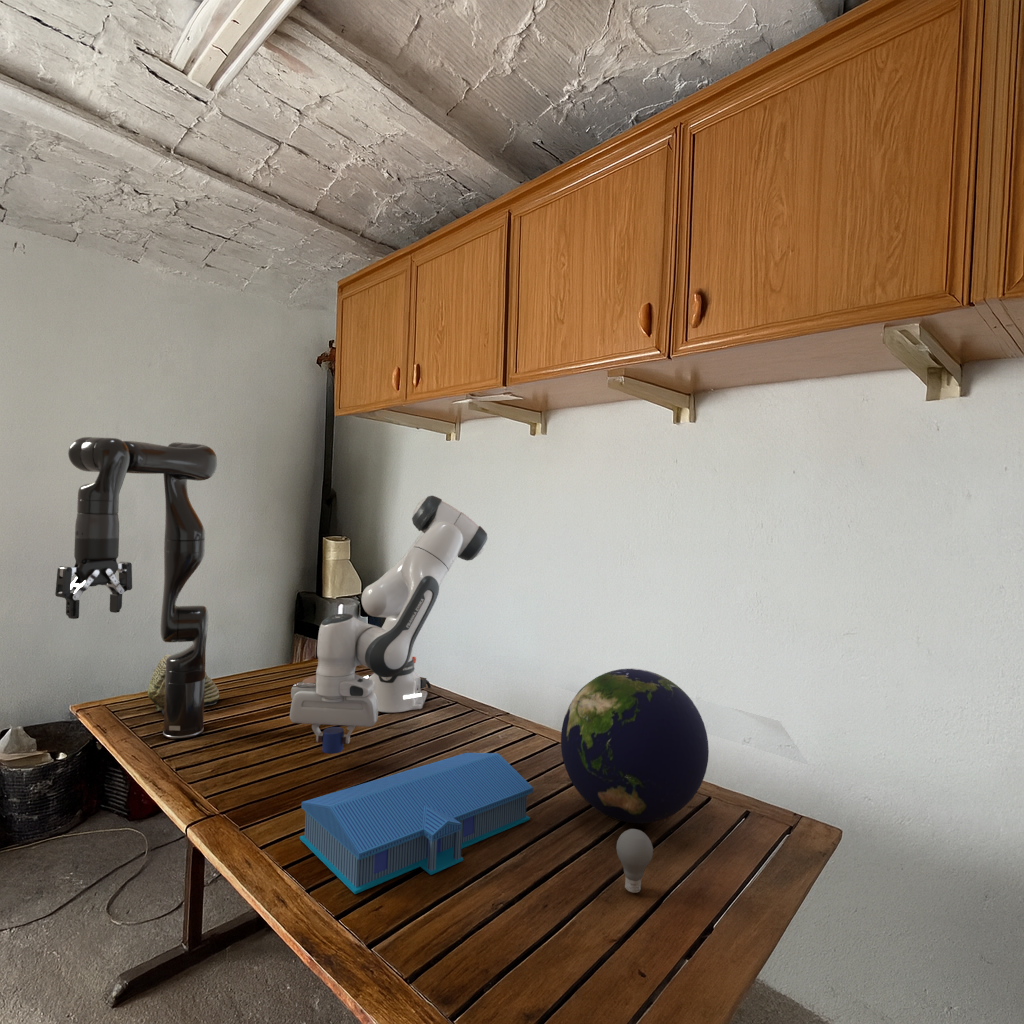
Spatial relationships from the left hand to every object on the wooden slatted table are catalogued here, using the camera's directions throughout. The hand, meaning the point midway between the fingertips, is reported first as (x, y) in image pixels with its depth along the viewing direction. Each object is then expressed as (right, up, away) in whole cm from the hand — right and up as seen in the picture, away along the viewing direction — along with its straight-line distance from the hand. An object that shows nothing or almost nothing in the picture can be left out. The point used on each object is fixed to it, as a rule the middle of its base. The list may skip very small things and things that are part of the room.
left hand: (94, 615), depth 129 cm
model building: (+68, -41, -8) cm, 80 cm away
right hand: (+43, -33, +20) cm, 58 cm away
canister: (+43, -35, +20) cm, 59 cm away
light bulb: (+105, -42, -23) cm, 116 cm away
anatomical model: (+21, -37, +86) cm, 96 cm away
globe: (+109, -42, +3) cm, 117 cm away
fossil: (-11, -36, +56) cm, 67 cm away
